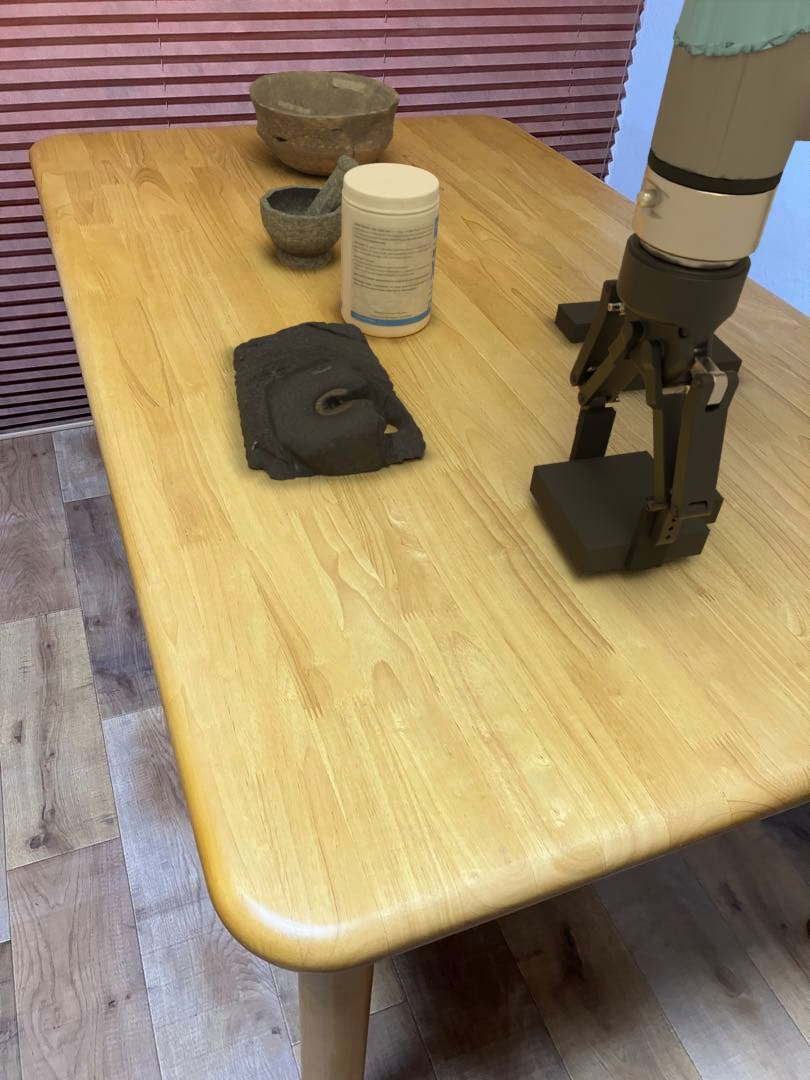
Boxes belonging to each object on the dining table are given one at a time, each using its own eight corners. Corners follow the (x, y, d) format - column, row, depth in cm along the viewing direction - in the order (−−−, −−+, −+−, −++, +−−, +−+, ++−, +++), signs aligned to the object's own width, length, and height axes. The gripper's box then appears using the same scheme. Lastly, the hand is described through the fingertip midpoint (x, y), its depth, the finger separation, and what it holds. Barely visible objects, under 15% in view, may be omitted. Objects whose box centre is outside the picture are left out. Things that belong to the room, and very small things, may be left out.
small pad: (671, 469, 73) (679, 445, 72) (735, 548, 66) (746, 524, 65) (529, 490, 70) (533, 465, 69) (580, 575, 63) (587, 550, 62)
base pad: (667, 315, 98) (674, 295, 96) (734, 381, 88) (743, 360, 87) (553, 324, 95) (558, 303, 93) (610, 395, 85) (616, 372, 83)
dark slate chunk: (377, 340, 89) (380, 297, 86) (432, 471, 74) (437, 424, 71) (226, 349, 86) (222, 305, 83) (249, 488, 70) (246, 440, 67)
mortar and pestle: (258, 275, 98) (253, 166, 90) (265, 240, 105) (261, 136, 97) (358, 280, 99) (362, 172, 91) (358, 245, 106) (361, 142, 98)
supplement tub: (447, 328, 92) (463, 188, 82) (372, 350, 88) (379, 205, 78) (395, 290, 98) (404, 155, 88) (322, 309, 93) (323, 169, 84)
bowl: (222, 157, 125) (217, 80, 118) (333, 133, 136) (334, 62, 129) (312, 204, 114) (312, 124, 107) (425, 174, 125) (431, 100, 119)
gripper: (559, 176, 60) (513, 440, 75) (738, 341, 44) (633, 633, 59) (657, 172, 62) (592, 430, 77) (861, 329, 46) (730, 615, 61)
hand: (610, 519), depth 68 cm, fingers closed on small pad, 10 cm apart
